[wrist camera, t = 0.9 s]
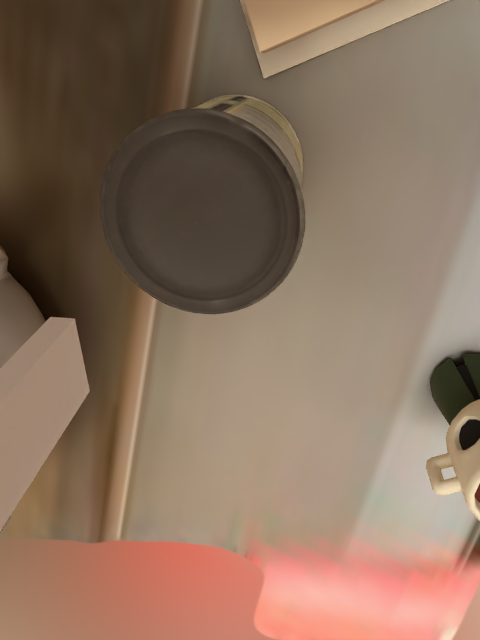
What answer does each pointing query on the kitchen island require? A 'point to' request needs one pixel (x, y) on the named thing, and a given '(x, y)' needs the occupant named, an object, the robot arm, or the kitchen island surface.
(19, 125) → the kitchen island surface
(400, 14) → the roller bed
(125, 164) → the coffee can
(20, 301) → the chamber pot
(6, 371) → the robot arm
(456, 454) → the character mug
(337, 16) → the oak slab
